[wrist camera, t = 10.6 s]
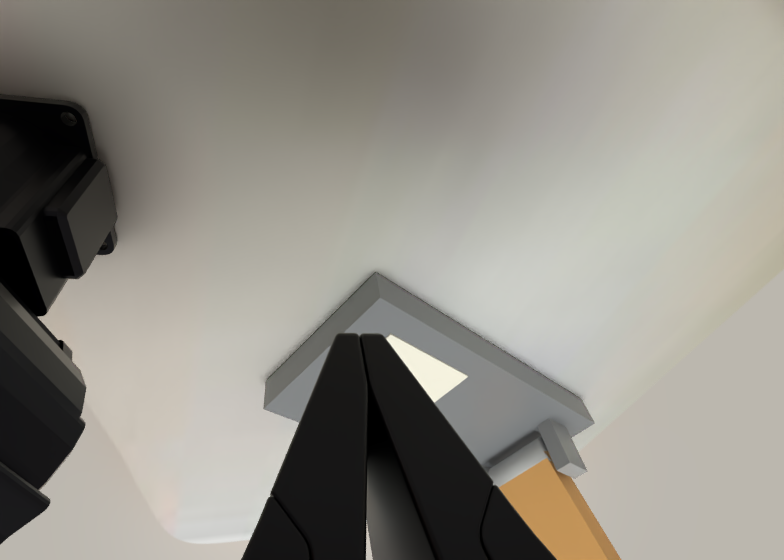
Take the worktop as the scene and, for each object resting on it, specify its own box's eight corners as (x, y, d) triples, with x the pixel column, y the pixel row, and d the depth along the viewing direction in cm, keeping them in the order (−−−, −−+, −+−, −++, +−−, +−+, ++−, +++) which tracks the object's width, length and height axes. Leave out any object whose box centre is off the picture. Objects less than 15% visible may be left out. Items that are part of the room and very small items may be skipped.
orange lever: (484, 469, 33) (565, 628, 28) (533, 437, 31) (631, 600, 26) (497, 467, 34) (578, 617, 29) (546, 436, 33) (640, 590, 27)
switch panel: (265, 381, 28) (258, 461, 24) (375, 271, 24) (389, 346, 20) (478, 467, 38) (498, 534, 34) (581, 399, 34) (618, 466, 30)
